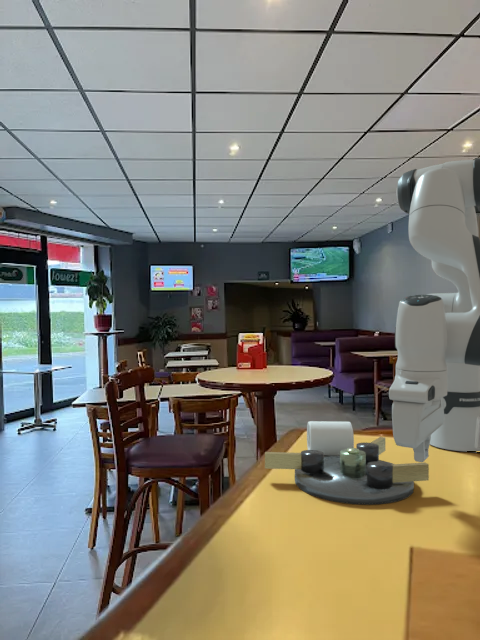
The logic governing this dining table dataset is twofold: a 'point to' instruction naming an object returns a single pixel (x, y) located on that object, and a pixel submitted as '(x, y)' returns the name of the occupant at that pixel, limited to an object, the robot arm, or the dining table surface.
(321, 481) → the tribrach plate
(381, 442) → the knob
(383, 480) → the knob
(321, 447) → the mug
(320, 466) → the knob
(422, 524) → the dining table surface
